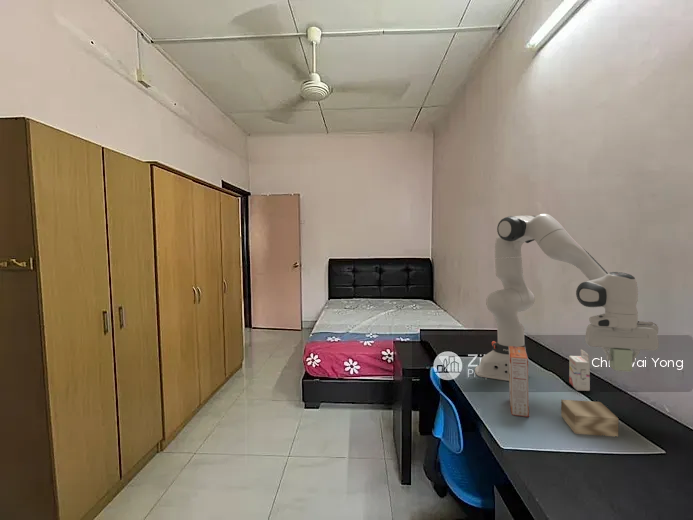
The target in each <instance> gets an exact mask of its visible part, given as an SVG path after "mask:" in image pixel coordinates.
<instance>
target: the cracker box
mask: <svg viewBox="0 0 693 520" xmlns="http://www.w3.org/2000/svg"><path fill="white" fill-rule="evenodd" d="M525 347H526V346H525ZM525 347H516V346H509V381H508V382H509V383H508V387H509V392H508V393H509V406H510V412H511V415H512V416H517V417H525V418H529V417H530V409H529V408H530V407H529V405H530V403H529V401H530V400H529V376H528V375H529V357H528V353H527V350H526V351H525Z"/></svg>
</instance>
